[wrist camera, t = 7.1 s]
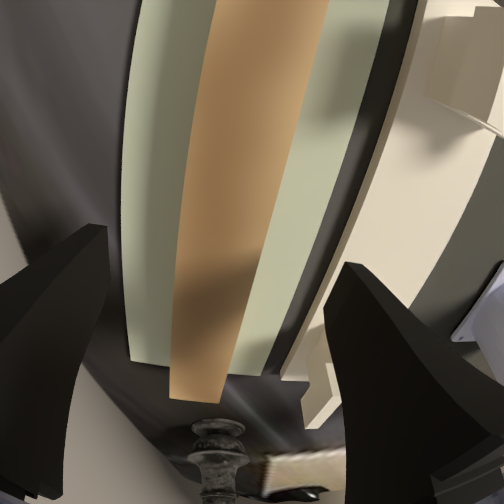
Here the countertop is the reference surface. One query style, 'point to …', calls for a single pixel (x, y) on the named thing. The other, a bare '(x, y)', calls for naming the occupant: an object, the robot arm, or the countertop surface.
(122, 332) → the countertop surface
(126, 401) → the countertop surface
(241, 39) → the oak bar
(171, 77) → the sage mat
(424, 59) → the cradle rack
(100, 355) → the countertop surface
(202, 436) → the grey chess piece
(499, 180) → the countertop surface
